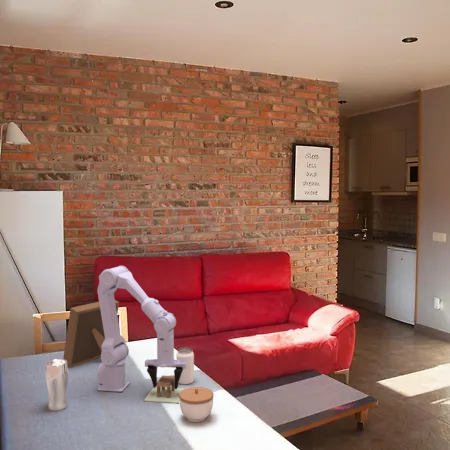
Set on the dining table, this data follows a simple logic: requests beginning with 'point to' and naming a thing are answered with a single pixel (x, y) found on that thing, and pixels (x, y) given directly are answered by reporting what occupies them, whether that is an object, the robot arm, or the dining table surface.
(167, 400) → the mat
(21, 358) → the dining table surface
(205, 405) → the lidded jar
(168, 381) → the stool
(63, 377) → the beer glass
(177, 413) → the dining table surface
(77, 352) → the photo frame
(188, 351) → the can
